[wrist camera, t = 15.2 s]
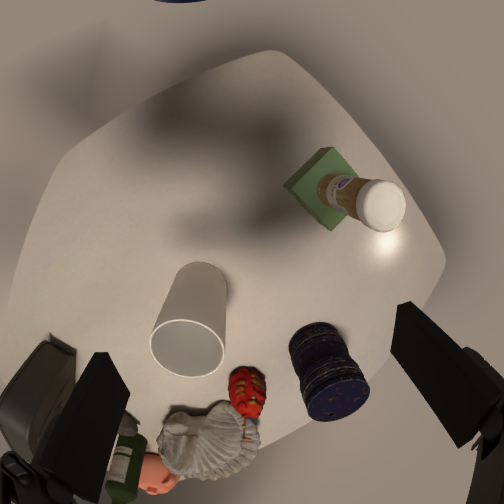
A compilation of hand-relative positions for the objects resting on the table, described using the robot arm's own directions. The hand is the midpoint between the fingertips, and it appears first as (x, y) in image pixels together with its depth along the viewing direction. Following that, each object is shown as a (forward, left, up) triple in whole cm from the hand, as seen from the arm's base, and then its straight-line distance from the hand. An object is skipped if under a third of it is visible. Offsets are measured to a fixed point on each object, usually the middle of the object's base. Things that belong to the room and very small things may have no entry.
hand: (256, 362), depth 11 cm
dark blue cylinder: (+25, +11, -30) cm, 40 cm away
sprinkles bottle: (-3, +13, -25) cm, 28 cm away
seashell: (+45, -14, -30) cm, 56 cm away
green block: (-3, +13, -30) cm, 32 cm away
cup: (+10, -7, -30) cm, 32 cm away
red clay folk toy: (+31, -3, -30) cm, 43 cm away
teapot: (+68, -37, -30) cm, 83 cm away
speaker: (+29, -46, -30) cm, 62 cm away
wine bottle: (+53, -37, -30) cm, 71 cm away
